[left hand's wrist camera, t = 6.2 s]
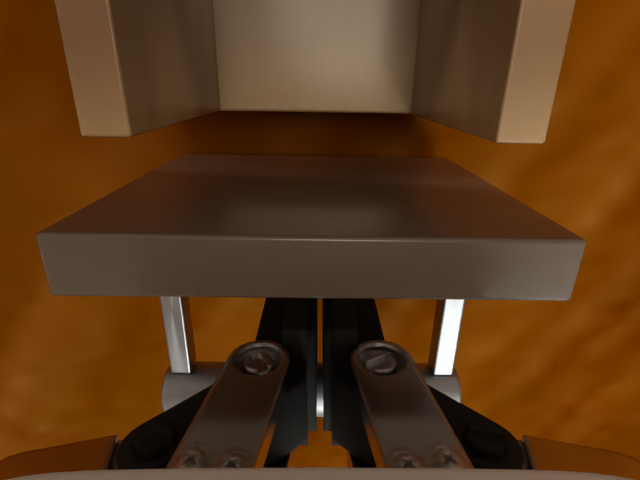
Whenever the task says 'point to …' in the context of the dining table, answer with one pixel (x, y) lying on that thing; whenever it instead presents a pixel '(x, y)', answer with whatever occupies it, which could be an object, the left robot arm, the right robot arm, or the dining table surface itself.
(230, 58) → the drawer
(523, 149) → the dining table surface
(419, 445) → the left robot arm
